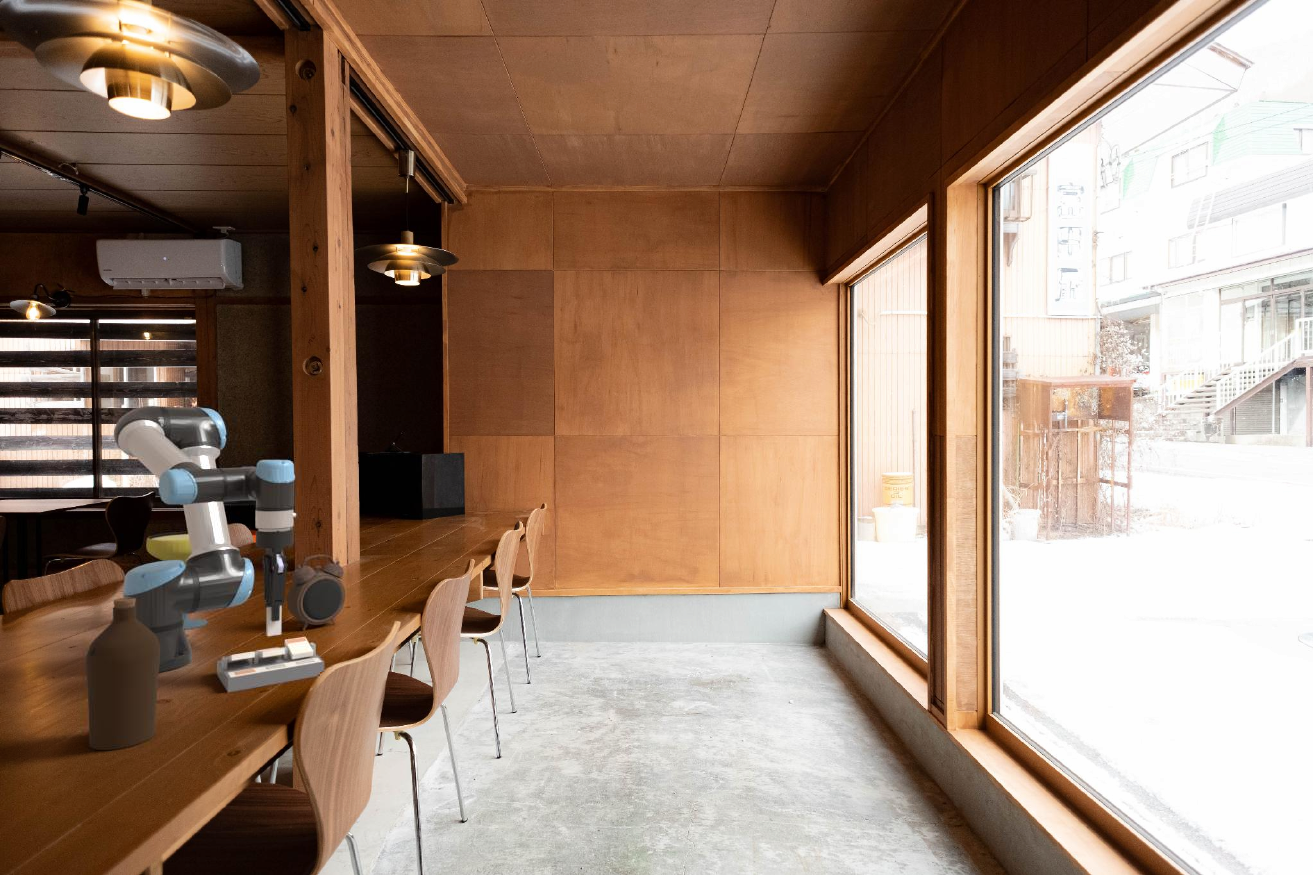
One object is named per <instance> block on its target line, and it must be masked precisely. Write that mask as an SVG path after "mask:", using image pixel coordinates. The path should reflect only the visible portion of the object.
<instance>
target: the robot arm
mask: <svg viewBox="0 0 1313 875" xmlns="http://www.w3.org/2000/svg"><path fill="white" fill-rule="evenodd" d="M226 436H227V430H226V425H225V422H224V420H223V418H222V416H221V415H220V414H219V413H218V412H217V411H215V410H214V409H211V408H206V407H205V408H204V407H200V406H192V407H191V406H190V407H189V406H188V407H184V406H183V407H182V406H160V405H159V406H157V405H149V406H148V405H147V406H141V407H137V408H134V409H132V410H130V411H128V412H126V413H125V414H123V416H121V417H120V418H119V419H118V421H117V423H115V427H114V429H113V438H114V443H115V444H116V445H117V447H118V448H119V449H120V450H121V451H122V452H123V453H124V454H125V455H127V456H129V457H131V458H136V459H137V460H138V461H139V462H140V463H141V464H142V465H143V466H144V467H146V468H147V469H148V470H149V472H151V473H152V474H153V475H154V477H156V478H157V479H158V493H159V495H160V499H161V501H162V502H164V504H166V505H181V506H183V511H184V516H185V521H186V522H185V523H186V528H187V532H188V534H189V540H190V546H191V551H192V553H191V555H190V556H189V557H188V558H187V560H186V565H185V564H184V562H183V561H181V560H169V561H164V560H161V561H155V562H151V563H150V562H149V563H145V564H143V565H139V566H136V567H134V568H132V569H131V570H129V571H127V573H126V574H125V576H124V579H123V580H124V582H123V583H124V584H123V589H122V594H123V598H124V597H134V598H136V602H135V605H136V619H137V620H138V621H139V622H140V623H142V624H143V625H144V626H146V627H147V628H148V629H149V630H151V631H152V632H153V633H154V634H155V635H156V637H157V639H158V641H159V645H160V661H159V673H162V672H166V671H171V670H175V669H178V668H181V667H184V666H185V665H186V666H187V664H189V663H191V662H192V661H193V649H192V647H191V646H192V645H191V644H190V641H189V639H188V637H187V633H186V631H185V630H184V615H186V614H187V615H191V614H197V613H203V612H209V611H217V610H221V609H222V610H223V609H229V608H231V607H236V606H239V605H243V604H244V603H245V602H246V601H248V599H249V598H250V597H251V594H252V591H253V588H254V583H255V569H254V566H253V563H252V560H250V559H249V558H247V557H242V556H241V551H240V549H239V548H238V547H236V546H234V545H232V541H231V536H230V531H229V527H228V522H227V516H226V511H225V506H224V502H238V501H239V502H240V501H256V502H255V529H258V530H256V532H255V547H256V548H258V549H265V554H263V555H262V559H261V560H262V567H263V568H262V569H263V592H264V594H263V595H264V596H263V597H264V598H263V599H264V601H265V604H264V607H265V608H266V627H265V628H266V632H265V633H266V634H265V635H266V636H267V637H272V636H273V637H274V636H279V635H282V614H283V613H282V608H283V607H282V606H283V605H284V604H285V595H286V584H287V583H286V580H287V579H286V578H287V571H288V567H289V565H288V563H287V554H284V548H289V547H292V546H293V545H294V541H295V540H294V539H295V538H294V535H295V533H294V530H293V529H292V528H293V527H294V518H296V517H297V513H296V512H294V508H295V507H294V506H295V480H296V475H295V465H294V462H293V461H291V460H288V459H262V460H261V459H260V460H259V461H257V463H256V466H251V465H250V466H242V467H228V468H227V467H221V468H218V467H217V464H216V459H217V458H218V457H219V456H220V455H221V450H222V451H223V449H224V448H225V445H226V442H227V437H226Z"/></svg>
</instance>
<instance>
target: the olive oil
mask: <svg viewBox="0 0 1313 875" xmlns="http://www.w3.org/2000/svg"><path fill="white" fill-rule="evenodd" d="M135 602H136V598H134V597H124V596H123V597H118V598H115V599H113V605H114V606H113V608H112V621H111V622H110V624H109V625H108V626H107V627H105V629H104V630H102V631H101V632H100V634H98V635H97V637H95V639H94V640H93V641H92V642H91V644H90V645H89V648H88V651H87V653H86V656H85V658H86V659H85V666H86V682H87V683H86V684H87V703H88V704H87V705H88V734H89V737H88V739H89V740H88V743H89V747H90V748H91V749H94V750H98V751H112V750H114V751H115V750H120V749H126V748H130V747H133V746H137V745H140V744H142V743H145V742H146V741H148V740H150V739H152V737H154V735H155V734H156V732H155V731H156V719H157V718H156V716H157V700H158V699H157V697H158V685H159V684H158V683H159V673H160V672H159V661H160V645H159V641H158V639H157V637H156V635H155V634H154V633H153V632H152V631H151V630H149V629H148V628H147V627H146V626H144V625H143V624H142V623H140V622H139V621H138V620H137V619H136V605H135Z"/></svg>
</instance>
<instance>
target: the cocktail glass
mask: <svg viewBox="0 0 1313 875" xmlns="http://www.w3.org/2000/svg"><path fill="white" fill-rule="evenodd" d="M145 546H146V551H147V552H148V554H150V555H151V556H152V557H154V558H156V559H159V560H161V561H169V560H181V561H183V562H184V564H185V565H186V560H187V558H188V557H189V556H190V555H191V553H192V551H191V546H190V540H189V534H188V531H179V532H166V533H159V534H154V535H150V536H148V537H147V538H146V545H145ZM207 624H208V621H207V619H199V618H198V619H197V618H193V619H190V618H189V614H186V615H184V630H186V629H188V630H193V628H194V629H197V628H202V627H204V626H206V625H207ZM201 626H202V627H201ZM186 631H187V630H186Z"/></svg>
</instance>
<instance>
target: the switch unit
mask: <svg viewBox="0 0 1313 875" xmlns="http://www.w3.org/2000/svg"><path fill="white" fill-rule="evenodd" d="M309 644H310V646H311V648H312V649H313V656H310V657H304V658H298V659H292V658H291V656H290V654H289V652H288V649H287V648H286V646H282V647H281V648H285V654H282V655H275V656H269V657H258V653H257V652H256V651H257V650H255V651H254V652H255V657H253V658H250V659H246V660H240V661H234V662H228V663H227V658H226V657H227V656H225V655H223V656H221V660H217V661H216V675H217V677H218V679H219V681H220V682H221V683H222V686H223V687H224V689H225V691H226V692H227V693H233V692H238V691H244V690H245V691H246V690H249V689H255V688H259V687H265V686H266V687H267V686H272V685H276V684H281V683H287V682H292V681H298V680H304V679H308V678H310V679H311V678H314V677H319V676H318V674H320V672H322V671H324V672H325V661H324V660H323V658H321V657H320V656H319V655H318V654H317V653H316V649H317V648H316V643H314V642H309Z"/></svg>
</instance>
